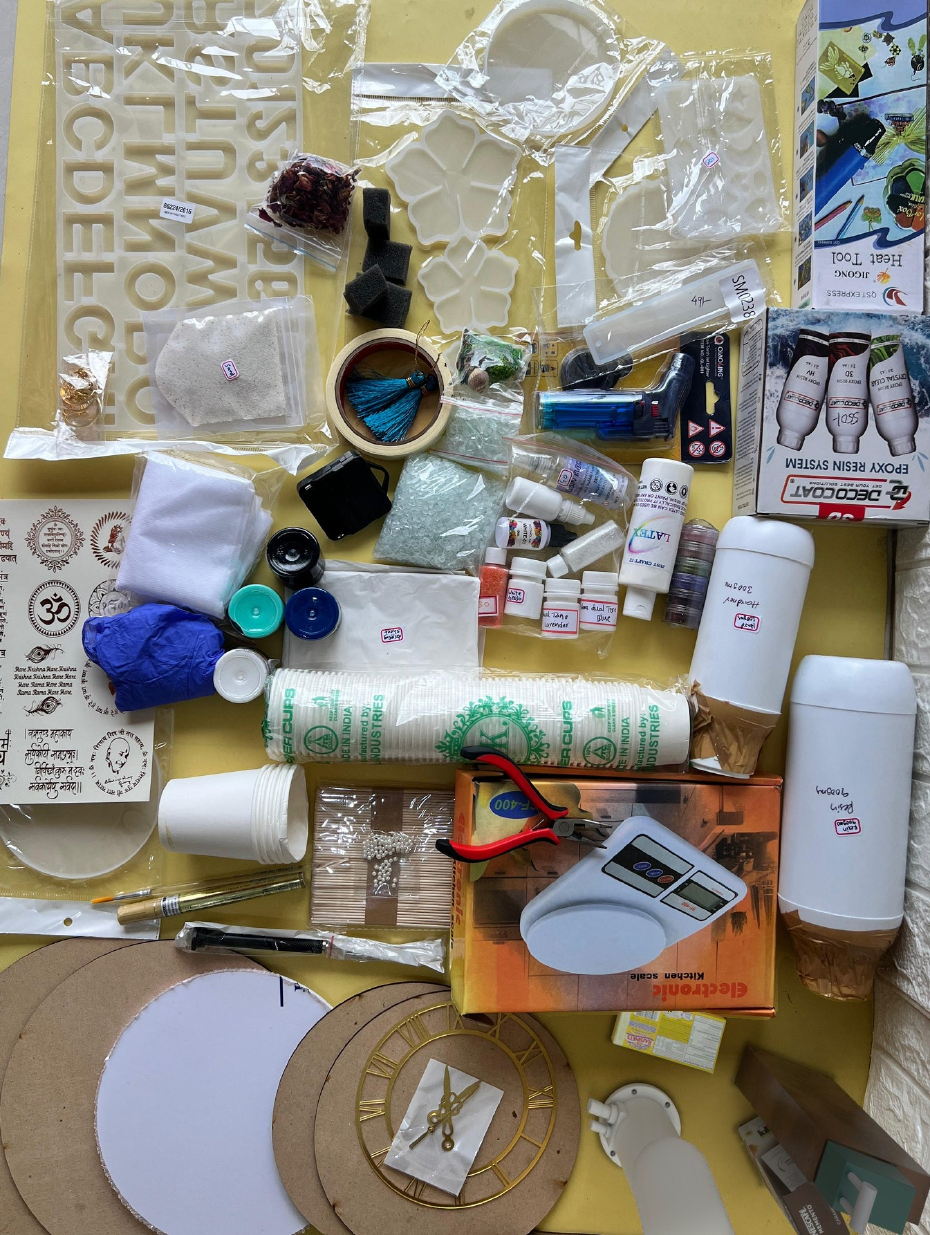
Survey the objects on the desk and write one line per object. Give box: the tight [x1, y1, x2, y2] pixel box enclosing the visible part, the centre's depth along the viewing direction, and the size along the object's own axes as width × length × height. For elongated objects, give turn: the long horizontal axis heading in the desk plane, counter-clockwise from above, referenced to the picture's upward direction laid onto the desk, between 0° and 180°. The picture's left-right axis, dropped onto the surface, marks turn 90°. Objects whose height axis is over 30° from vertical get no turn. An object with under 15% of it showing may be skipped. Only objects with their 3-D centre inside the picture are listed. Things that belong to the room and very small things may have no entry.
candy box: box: [610, 1011, 727, 1075], centre depth 122 cm, size 16×2×8 cm
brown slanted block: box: [733, 1045, 930, 1227], centre depth 110 cm, size 14×6×25 cm, turn 69°
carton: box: [814, 1141, 916, 1235], centre depth 93 cm, size 9×6×9 cm, turn 69°
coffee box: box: [737, 1115, 851, 1235], centre depth 114 cm, size 9×6×16 cm
